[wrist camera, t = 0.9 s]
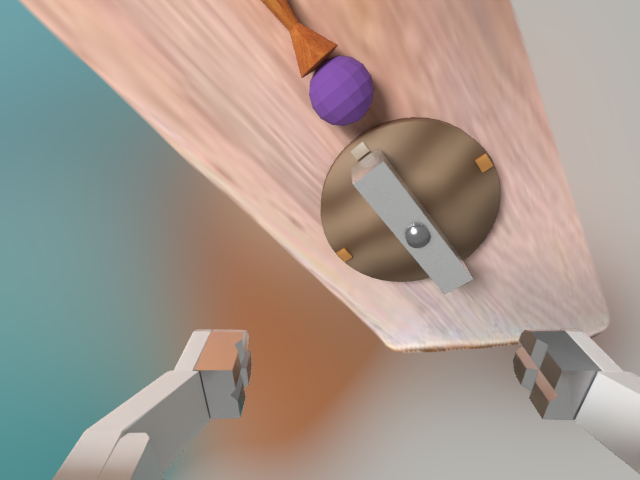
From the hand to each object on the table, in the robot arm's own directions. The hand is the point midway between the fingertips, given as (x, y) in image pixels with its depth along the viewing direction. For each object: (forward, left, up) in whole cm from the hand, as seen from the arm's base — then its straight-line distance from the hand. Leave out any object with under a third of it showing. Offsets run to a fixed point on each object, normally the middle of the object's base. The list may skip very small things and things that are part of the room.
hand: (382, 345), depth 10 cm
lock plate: (+9, +8, -30) cm, 33 cm away
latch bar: (+9, +8, -28) cm, 30 cm away
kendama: (-8, -6, -31) cm, 33 cm away
